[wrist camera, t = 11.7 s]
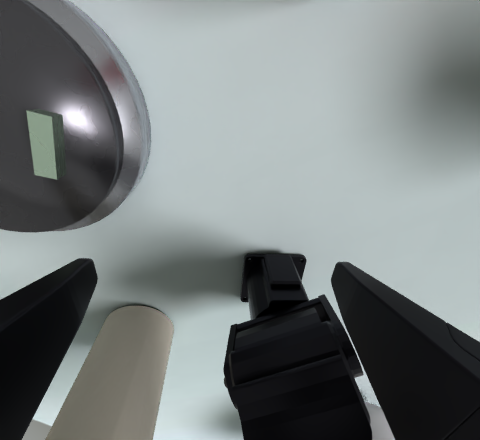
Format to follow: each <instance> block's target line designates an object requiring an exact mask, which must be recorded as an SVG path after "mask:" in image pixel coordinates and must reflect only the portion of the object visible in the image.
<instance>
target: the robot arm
mask: <svg viewBox="0 0 480 440" xmlns="http://www.w3.org/2000/svg"><path fill="white" fill-rule="evenodd" d="M249 258H251V259H250V260H248V259H249ZM301 259H303V260H301ZM300 260H301V261H300ZM305 265H306V258H305V256H304V255H288V254H247V255H246V256H245V258H244V267H243V277H242V287H241V301H242V302H249V308H250V316H251V320H250V321H247V322H244V323H241V324H234V325H231V328H230V334H229V339H228V345H227V351H226V357H225V363H224V375H225V378H224V384H225V386H226V387H227V388H228V392H229V395H230V398H231V400H232V402H233V405H234V406H235V408H236V409H238V412H239V416H240V420H241V425H242V431H243V437H244V440H372V429H371V426H370V424H371V421H370V415H369V412H368V410H367V407H366V405H365V403H364V400H363V398H362V396H361V393H360V391H359V388H358V386H357V384H356V381H355V379H354V378H355V377H359V376H362V375H363V371H362V368H361V365H360V362H359V360H358V358H357V355H356V353H355V350H354V348H353V346H352V344H351V342H350V339H349V337H348V335H347V333H346V331H345V329H344V327H343V325H342V324H341V322H340V320H339V318H338V317H337V315H336V313H335V312H334V310H333V308H332V306H331V305H330V303H329V301H328V300H327V298H326V296H325V295H321V296H318V298H315V299H312V300H309V299H308V297H307V294H306V292H305V289H304V287H303V285H302V281H301V280H302V276H303V272H304V269H305ZM97 280H98V277H97V273H96V269H95V266H94V262H93V260H92V259H89V258H79V259H77V260H75V261H73V262H71V263H69V264H67V265H65V266H63V267H61V268H60V269H58V270H56V271H54V272H52V273H50V274H48V275H46V276H44V277H43V278H41V279H39V280H37V281H35V282H33V283H31V284H29V285H28V286H26V287H24V288H22V289H20V290H18V291H16V292H14V293H12V294H11V295H9V296H7V297H5V298H3V299H1V300H0V440H22V438H23V436H24V434H25V432H26V430H27V428H28V426H29V424H30V422H31V420H32V418H33V417H34V415H35V413H36V411H37V409H38V407H39V405H40V403H41V401H42V399H43V397H44V395H45V393H46V391H47V389H48V387H49V385H50V383H51V382H52V380H53V378H54V376H55V374H56V372H57V370H58V368H59V366H60V364H61V362H62V360H63V358H64V356H65V354H66V352H67V350H68V348H69V346H70V345H71V343H72V341H73V339H74V337H75V335H76V333H77V331H78V329H79V327H80V325H81V323H82V320H83V318H84V315H85V313H86V310H87V308H88V305H89V302H90V300H91V297H92V295H93V292H94V289H95V287H96V284H97ZM331 284H332V287H333V290H334V294H335V297H336V300H337V303H338V306H339V309H340V313H341V316H342V318H343V321H344V324H345V326H346V328H347V331H348V333H349V335H350V337H351V340H352V342H353V344H354V347H355V349H356V351H357V353H358V356H359V358H360V360H361V363H362V365H363V367H364V370H365V372H366V374H367V376H368V379H369V381H370V383H371V386H372V388H373V390H374V392H375V395H376V397H377V399H378V402H379V404H380V406H381V408H382V411H383V413H384V415H385V418H386V420H387V422H388V424H389V427H390V429H391V431H392V434H393V436H394V438H395V440H480V342H479V341H477V340H475V339H473V338H472V337H470V336H468V335H467V334H465V333H463V332H462V331H460V330H458V329H457V328H455V327H454V326H452V325H450V324H449V323H446V322H445V321H444V320H442V319H440V318H439V317H437V316H436V315H434V314H432V313H431V312H429V311H427V310H426V309H424V308H422V307H421V306H419V305H418V304H416V303H414V302H413V301H411V300H409V299H408V298H406V297H404V296H403V295H401V294H400V293H398V292H396V291H395V290H393V289H391V288H390V287H388V286H387V285H385V284H383V283H382V282H380V281H378V280H377V279H375V278H373V277H372V276H370V275H369V274H367V273H365V272H364V271H362V270H360V269H359V268H357V267H355V266H354V265H352V264H351V263H349V262H338V263H337V264H336V265H335V268H334V271H333V274H332V277H331ZM245 297H246V298H245Z"/></svg>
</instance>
